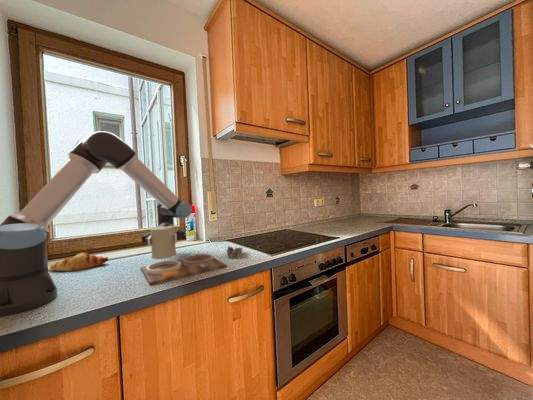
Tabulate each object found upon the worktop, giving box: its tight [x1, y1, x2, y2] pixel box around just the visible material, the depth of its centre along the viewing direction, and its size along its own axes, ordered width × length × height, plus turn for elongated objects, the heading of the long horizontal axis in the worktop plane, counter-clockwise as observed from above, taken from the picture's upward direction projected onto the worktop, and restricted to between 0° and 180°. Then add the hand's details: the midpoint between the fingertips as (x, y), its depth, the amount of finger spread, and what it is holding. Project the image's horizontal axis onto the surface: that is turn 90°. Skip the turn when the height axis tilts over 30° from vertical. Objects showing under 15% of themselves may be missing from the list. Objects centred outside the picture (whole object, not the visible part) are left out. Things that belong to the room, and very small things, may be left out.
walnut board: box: [140, 253, 227, 286], centre depth 97 cm, size 29×21×2 cm
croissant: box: [49, 252, 109, 272], centre depth 103 cm, size 21×10×8 cm, turn 112°
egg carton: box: [226, 245, 243, 259], centre depth 114 cm, size 11×8×4 cm
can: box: [149, 225, 177, 260], centre depth 94 cm, size 9×9×12 cm
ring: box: [146, 259, 181, 278], centre depth 92 cm, size 13×18×2 cm
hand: (162, 240), depth 90 cm, fingers closed on can, 9 cm apart
